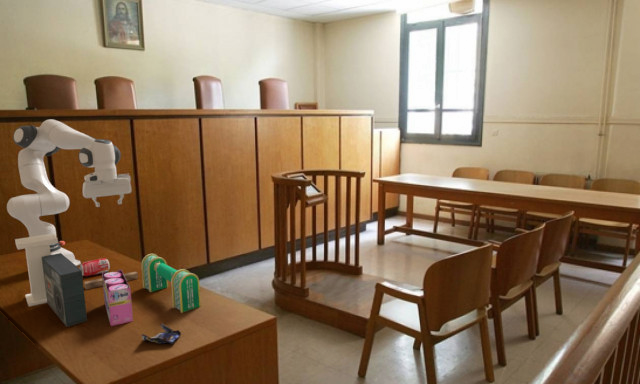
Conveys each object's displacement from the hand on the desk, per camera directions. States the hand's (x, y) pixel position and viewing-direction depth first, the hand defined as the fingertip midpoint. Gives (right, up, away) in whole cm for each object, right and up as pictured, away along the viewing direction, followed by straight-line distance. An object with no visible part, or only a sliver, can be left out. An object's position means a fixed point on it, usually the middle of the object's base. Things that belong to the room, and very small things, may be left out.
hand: (109, 205), depth 207 cm
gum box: (+18, -41, -31) cm, 54 cm away
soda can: (-7, -30, +15) cm, 34 cm away
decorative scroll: (+34, -39, -16) cm, 54 cm away
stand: (-20, -39, -16) cm, 47 cm away
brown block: (+1, -36, 0) cm, 36 cm away
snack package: (+43, -45, -52) cm, 82 cm away
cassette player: (-3, -41, -29) cm, 51 cm away
